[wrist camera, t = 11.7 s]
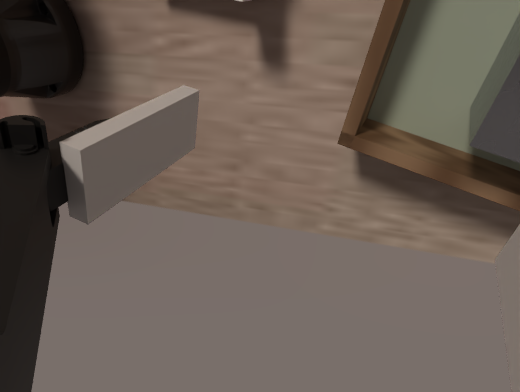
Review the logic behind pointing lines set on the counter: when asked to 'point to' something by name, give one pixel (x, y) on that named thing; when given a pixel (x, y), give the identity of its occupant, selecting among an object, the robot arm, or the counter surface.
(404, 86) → the mat
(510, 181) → the walls
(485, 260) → the counter surface
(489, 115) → the bracket
